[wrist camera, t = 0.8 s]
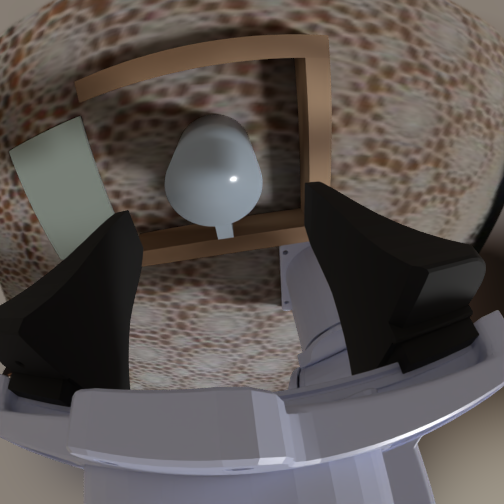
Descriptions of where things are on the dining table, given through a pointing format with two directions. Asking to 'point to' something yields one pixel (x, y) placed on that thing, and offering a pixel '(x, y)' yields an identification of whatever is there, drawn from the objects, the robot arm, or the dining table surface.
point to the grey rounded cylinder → (214, 174)
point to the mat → (63, 184)
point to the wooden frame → (310, 136)
